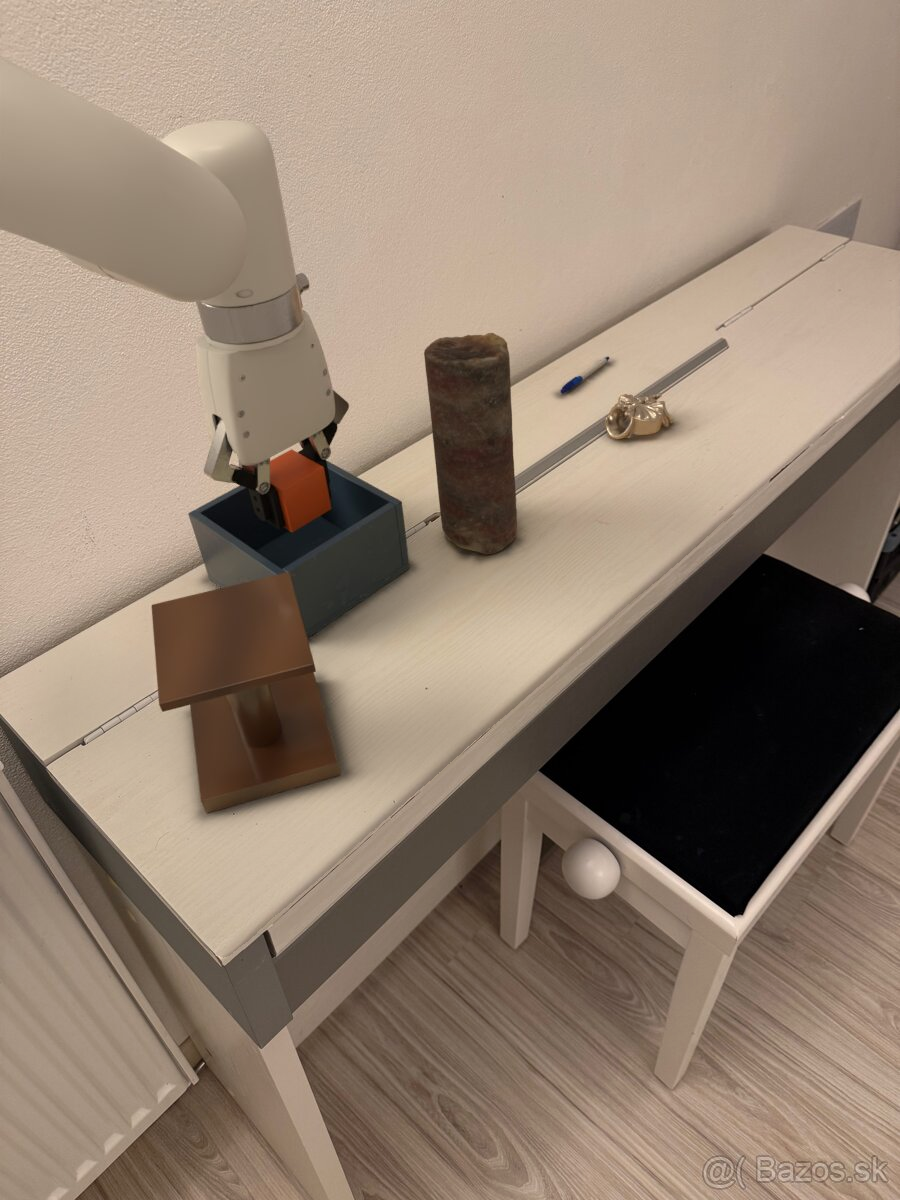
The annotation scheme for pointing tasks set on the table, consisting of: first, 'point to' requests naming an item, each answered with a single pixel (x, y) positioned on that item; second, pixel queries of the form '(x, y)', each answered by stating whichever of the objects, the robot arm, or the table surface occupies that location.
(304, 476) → the orange block
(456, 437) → the brown textured cylinder
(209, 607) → the serving stand
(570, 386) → the ballpoint pen
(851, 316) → the table surface
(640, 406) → the ornament
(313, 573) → the blue open crate
